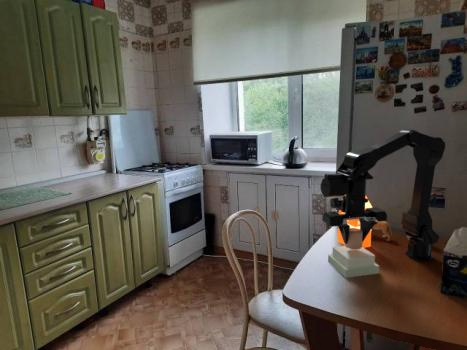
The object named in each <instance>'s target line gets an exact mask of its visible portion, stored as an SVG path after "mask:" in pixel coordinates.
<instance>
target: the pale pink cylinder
mask: <svg viewBox="0 0 467 350" xmlns="http://www.w3.org/2000/svg"><path fill="white" fill-rule="evenodd" d="M362 238H363V231H362V230H360V229H357V228H350V229H349V237H348V242H347V244H345V245H344V246H346V247H347V248H349V249H361V248H362Z"/></svg>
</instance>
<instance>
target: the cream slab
mask: <svg viewBox="0 0 467 350" xmlns="http://www.w3.org/2000/svg"><path fill="white" fill-rule="evenodd" d="M331 254H332V256H333V257H334V258H336V259H337V260H338V261H339V262H340V263H342V264H343V265H344V266H345V267H346V268H355V267H363V266H370V265H375V263H376V261H375V260H376V255H375V254H374V253H372V252H371V251H369V250H367V249H366V248H363V247H362V248H361V249H349V248H347V247H346V246H345V245H340V246H333V247H332V253H331Z"/></svg>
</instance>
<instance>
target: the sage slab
mask: <svg viewBox="0 0 467 350" xmlns="http://www.w3.org/2000/svg"><path fill="white" fill-rule="evenodd" d="M332 254H333V253H331V254H327V255H328V256H327V261H328V263H329V264H330V263H331V264H332V265H333V266H334V267H335V268H336V269H335V268H334V267H333V266H332V265H331V264H330V265H331V266H332V267H333V268H334V269H335V270H337V272H338V273H340V274H341V275H342V276H343V277H344V278H346V279H348V278H354V277H355V276H356V277H362V275H363V276H369V275H377V274H380V265H379V264H378V263H376V262H375V265H370V266H363V267H355V268H346V267H345V266H344V265H343V264H342V263H340V262H339V261H338V260H337V259H336V258H334V257H333V256H332ZM347 277H348V278H347Z"/></svg>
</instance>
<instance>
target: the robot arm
mask: <svg viewBox="0 0 467 350" xmlns="http://www.w3.org/2000/svg"><path fill="white" fill-rule="evenodd" d="M407 146H408V147H410V148H412V153H413V154H412V155H413V157H414V160H415V162H416V170H415V177H414V183H413V184H414V185H413V191H412V198H411V204H410V208H409V209H408V210H407V211H403V212H402V217H401V222H400V224H401V227H402V229H403V230H404V233H405V235H406V236H410V237H411V238H409V239H408V240H409V241H408V243H407V251H404V254H405V255H407V256H408V257H411V258H412V259H414V260H415V261H418V262H424V261H431V260H435V259H436V257H435V256H433V255H432V254H433V253H432V251H433V245H434V244H437V243H438V242H439V239H440V236H439V235H438V233H437V232H436V231H435V230H434V228H433V219H432V215H431V213H430V211H429V207H430V203H431V202H430V201H431V196H432V190H433V189H432V188H433V182H434V175H435V169H436V166H437V164H439V162H441V160H442V159H443V156H444V152H445V150H446V142H445V141H444V139H443V138H441V137H440V136H439V137H438V136H430V135H428V134H424V133H421V132H419V131H417V130H415V129H406V128H405V129H401V130H399V132H397V133H394V134H393V135H391V136H389V137H388V138H384V140H381V141H380V142H378V143H376V144H373V145H371V146H370V147H369V146H368V147H366V148H361V149H355V150H353V151H352V150H351V151H349V152H348V153H346V154H345V155H344V158H343V161H342V162H341V164H340V166H339V167H338V168H337V170H336V171H335V173H325V174H324V178H323V179H322V180H321V182H320V192H321V194H322V196H323V197H324V198H330V207H331V209H336V211H335V210H334V211H333V210H332V211H325V212H324V213H323V214H322V216H321V217H322V218H321V219H322V221H323V222H324V223H325V224H326V225H328V226H329V227H337V229H338V228H339V230H340V232H341V235H342V238H343V241H344V243H345V244H347V242H348V237H349V229H350V226H349V225H348V224H347V220H354V219H359V221H360V230H362V231H363V238H362V242H363V241H364V240H365V238H366V236H367V235H368V233H369V232H370V230H371V229H372V228H373V226H374V225H375V224H377V222H376V221H375V220H377V221H379V222H380V221H385V222H387V220H388V214H387V212H386V211H385V210H383V209H381V208H379V207H377V206H375V207H374V206H373V208H367V209H366V210H365V203H367V202H368V200H369V199H367V198H368V197H367V194H366V193H367V180H373V179H374V176H372V174H371V173H369V171H370V170H371V169H373V168H374V167H375V166H376V165H377V163H378V162H380V160H381V159H383V158H386V157H388V156H390V155H392V154H394V153H395V152H397V151H399V150H401V149H403V148H405V147H407ZM345 194H346V195H345ZM344 195H345V196H344ZM338 197H342V199H343V200H342V199H341V200H340V199H339V198H338ZM366 197H367V198H366ZM340 210H341V212H344V213H345V214H339V211H340ZM372 230H373V229H372Z"/></svg>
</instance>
